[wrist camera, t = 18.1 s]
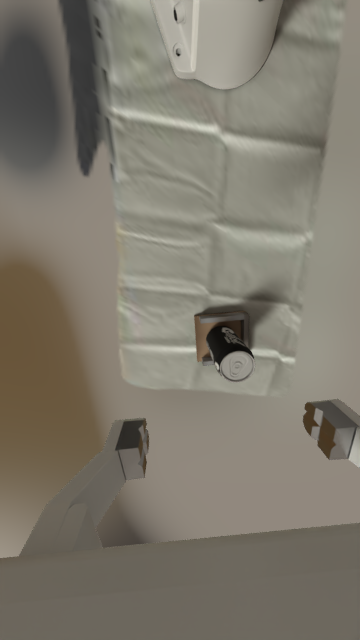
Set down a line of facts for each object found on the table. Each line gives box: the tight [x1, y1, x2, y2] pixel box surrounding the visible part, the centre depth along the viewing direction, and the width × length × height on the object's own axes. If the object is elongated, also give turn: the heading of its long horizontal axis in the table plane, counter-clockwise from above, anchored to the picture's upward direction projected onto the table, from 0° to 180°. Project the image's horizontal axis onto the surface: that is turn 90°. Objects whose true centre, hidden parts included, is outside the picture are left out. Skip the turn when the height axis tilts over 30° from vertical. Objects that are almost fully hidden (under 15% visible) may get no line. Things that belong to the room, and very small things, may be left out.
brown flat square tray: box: [194, 311, 249, 366], centre depth 40 cm, size 11×11×3 cm
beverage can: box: [206, 326, 255, 382], centre depth 35 cm, size 7×7×12 cm
